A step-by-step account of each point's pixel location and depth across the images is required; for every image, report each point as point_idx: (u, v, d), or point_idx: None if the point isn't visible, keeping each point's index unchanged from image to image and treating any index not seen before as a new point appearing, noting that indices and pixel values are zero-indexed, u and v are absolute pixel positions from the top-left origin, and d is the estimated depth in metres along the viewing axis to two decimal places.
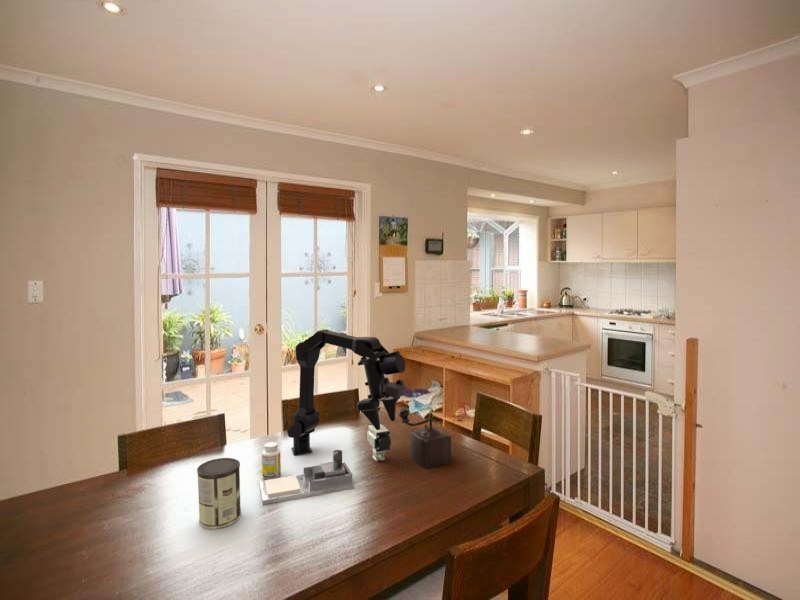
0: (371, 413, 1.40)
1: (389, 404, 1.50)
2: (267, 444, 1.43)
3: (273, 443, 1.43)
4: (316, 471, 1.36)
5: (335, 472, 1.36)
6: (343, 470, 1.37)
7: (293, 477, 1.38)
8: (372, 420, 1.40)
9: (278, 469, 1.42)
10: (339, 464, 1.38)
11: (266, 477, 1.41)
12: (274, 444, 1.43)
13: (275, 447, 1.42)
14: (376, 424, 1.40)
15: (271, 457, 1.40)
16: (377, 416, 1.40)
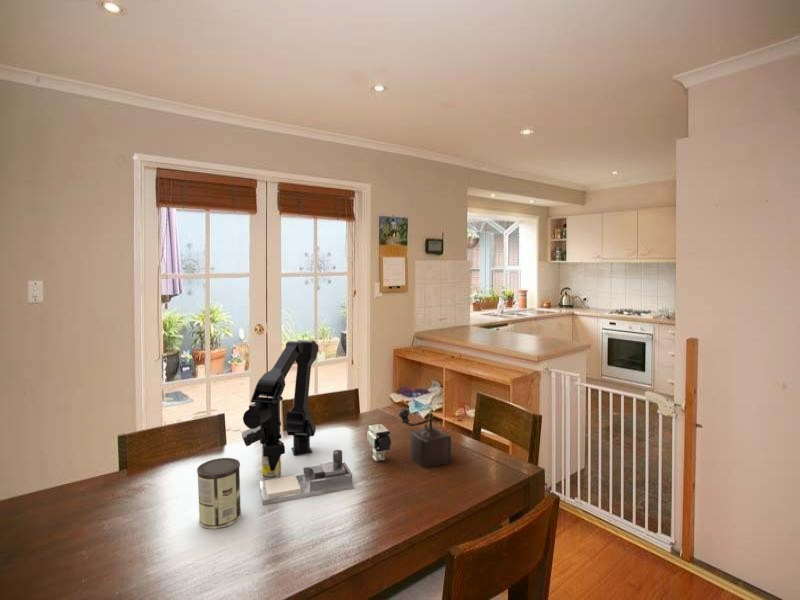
0: None
1: None
2: None
3: None
4: (316, 471, 1.36)
5: (335, 472, 1.36)
6: (343, 470, 1.37)
7: (293, 477, 1.38)
8: None
9: (278, 469, 1.42)
10: (339, 464, 1.38)
11: (266, 477, 1.41)
12: None
13: None
14: None
15: None
16: None
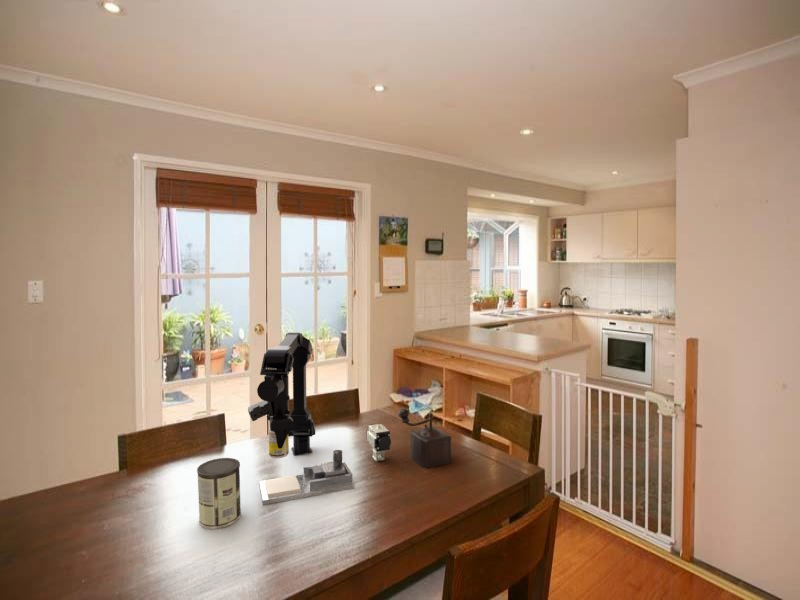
0: None
1: None
2: None
3: None
4: (316, 471, 1.36)
5: (335, 472, 1.36)
6: (343, 470, 1.37)
7: (293, 477, 1.38)
8: None
9: (286, 447, 1.33)
10: (339, 464, 1.38)
11: (273, 456, 1.32)
12: None
13: None
14: None
15: None
16: None
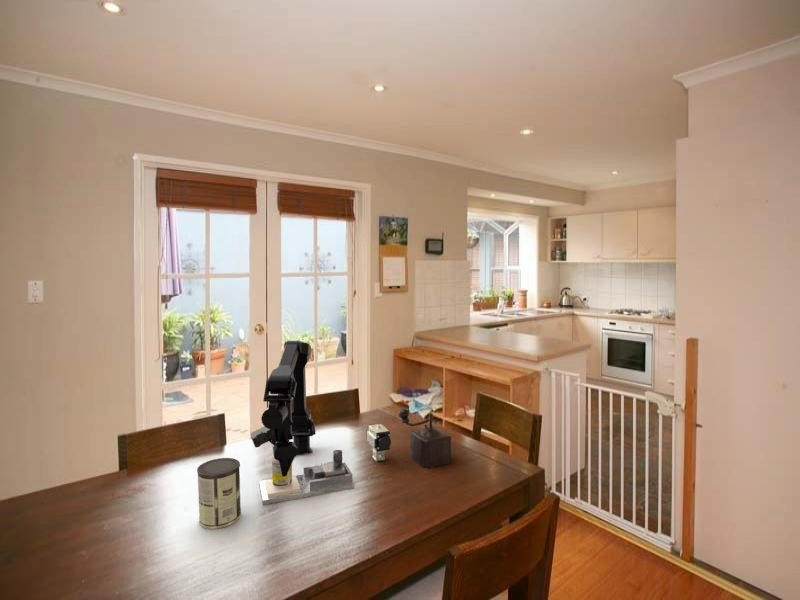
0: None
1: None
2: None
3: None
4: (316, 471, 1.36)
5: (335, 472, 1.36)
6: (343, 470, 1.37)
7: (293, 477, 1.38)
8: None
9: (289, 477, 1.32)
10: (339, 464, 1.38)
11: (277, 485, 1.31)
12: None
13: None
14: None
15: None
16: None
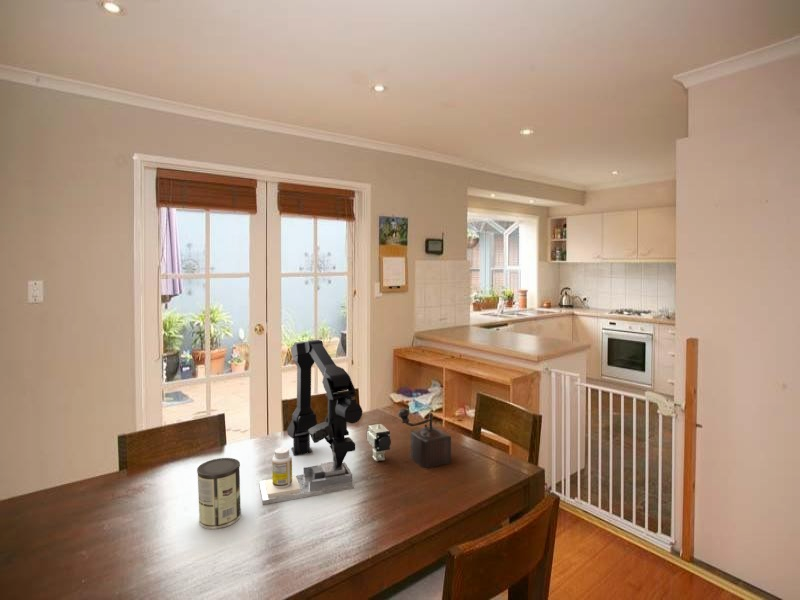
0: None
1: None
2: (278, 450, 1.33)
3: (284, 449, 1.34)
4: (316, 471, 1.36)
5: (335, 472, 1.36)
6: (343, 470, 1.37)
7: (293, 477, 1.38)
8: None
9: (289, 477, 1.32)
10: None
11: (277, 485, 1.31)
12: (285, 450, 1.33)
13: (286, 453, 1.32)
14: None
15: (282, 464, 1.31)
16: None
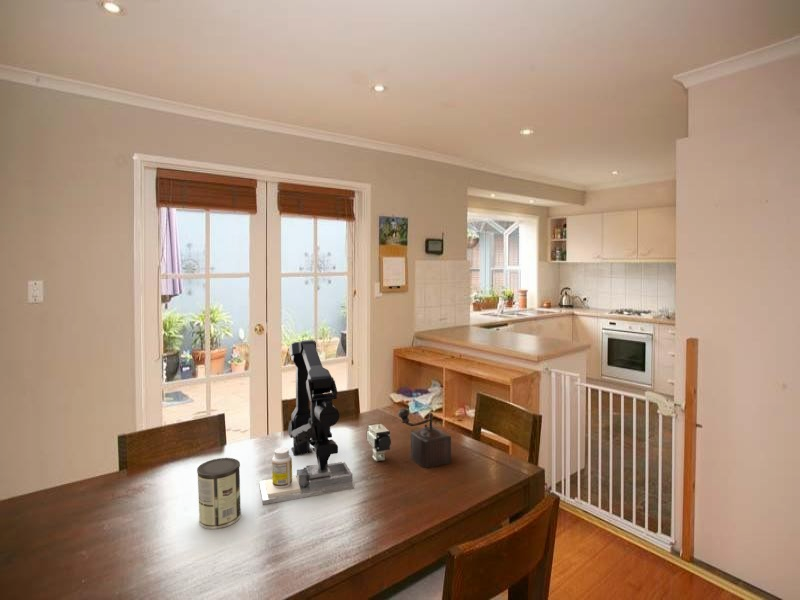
0: None
1: None
2: (278, 450, 1.33)
3: (284, 449, 1.34)
4: (301, 473, 1.34)
5: (320, 475, 1.34)
6: (328, 472, 1.35)
7: (293, 477, 1.38)
8: None
9: (289, 477, 1.32)
10: None
11: (277, 485, 1.31)
12: (285, 450, 1.33)
13: (286, 453, 1.32)
14: None
15: (282, 464, 1.31)
16: None
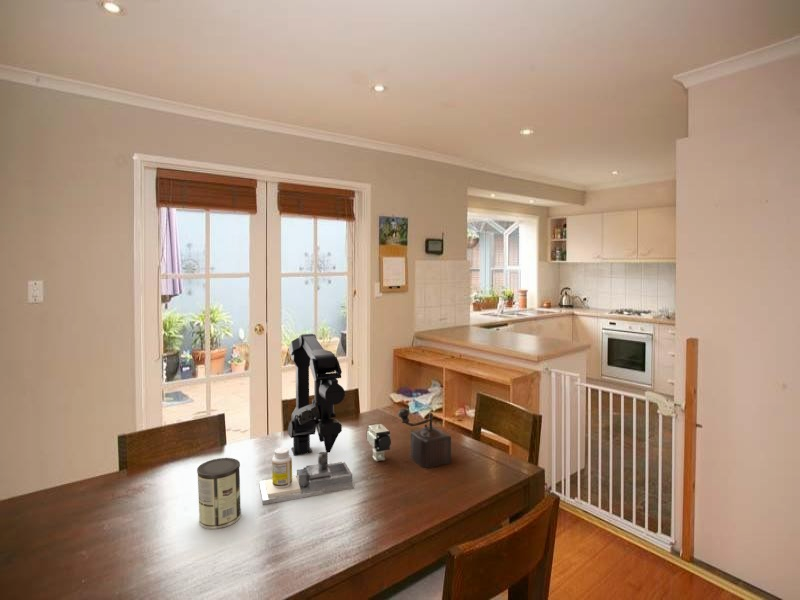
0: None
1: None
2: (278, 450, 1.33)
3: (284, 449, 1.34)
4: (301, 473, 1.34)
5: (320, 475, 1.34)
6: (328, 472, 1.35)
7: (293, 477, 1.38)
8: None
9: (289, 477, 1.32)
10: (324, 466, 1.37)
11: (277, 485, 1.31)
12: (285, 450, 1.33)
13: (286, 453, 1.32)
14: None
15: (282, 464, 1.31)
16: None
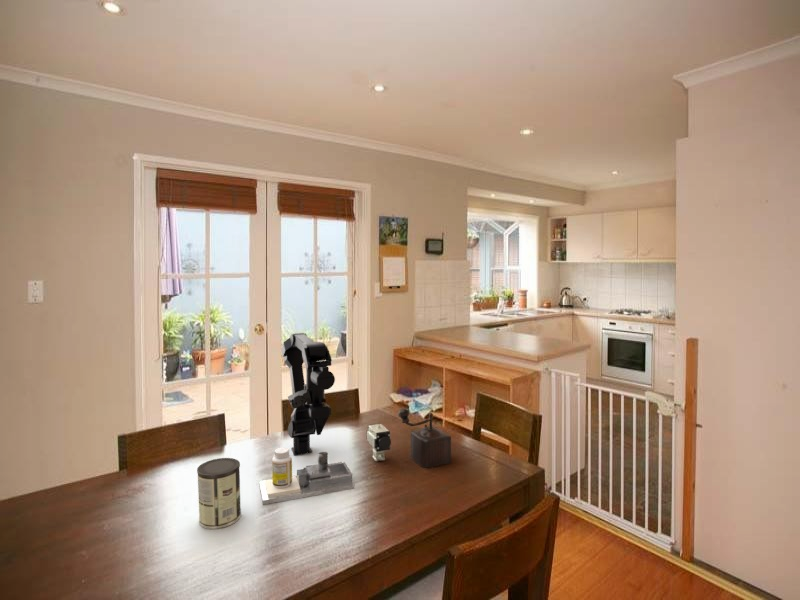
0: None
1: None
2: (278, 450, 1.33)
3: (284, 449, 1.34)
4: (301, 473, 1.34)
5: (320, 475, 1.34)
6: (328, 472, 1.35)
7: (293, 477, 1.38)
8: None
9: (289, 477, 1.32)
10: (324, 466, 1.37)
11: (277, 485, 1.31)
12: (285, 450, 1.33)
13: (286, 453, 1.32)
14: None
15: (282, 464, 1.31)
16: (308, 412, 1.52)
